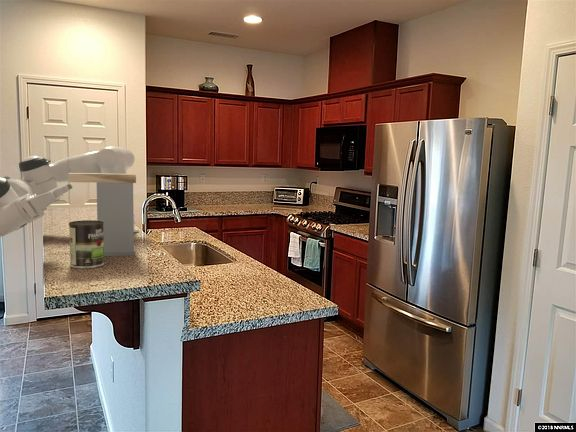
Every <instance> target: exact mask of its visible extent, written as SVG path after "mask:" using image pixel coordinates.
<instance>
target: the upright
mask: <svg viewBox="0 0 576 432" xmlns="http://www.w3.org/2000/svg"><path fill="white" fill-rule="evenodd" d="M133 214H134V183H98V182H96V218H97V219H96V221H102V222H104V225H103V235H104V257H125V256H124V255H127V256H136V246H135V241H134V240H135V239H134V237H135V232H134V219H135V215H134V216H133Z"/></svg>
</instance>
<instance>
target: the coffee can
mask: <svg viewBox="0 0 576 432" xmlns="http://www.w3.org/2000/svg"><path fill="white" fill-rule="evenodd" d="M103 225H104V222H102V221H97V220H91V219H90V220H89V219H88V220H87V219H86V220H85V219H84V220H74V221H69V222H68V227H69V249H70V250H69V257H70V258H69V259H70V261H69V262H70V263H69V264H70V267H71V268H74V269H82V270H83V269H94V268H99V267H102V266H104V265H105V256H104V235H103Z"/></svg>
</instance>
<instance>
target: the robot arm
mask: <svg viewBox="0 0 576 432" xmlns="http://www.w3.org/2000/svg"><path fill="white" fill-rule="evenodd" d="M51 162H52V161H51V160H50V159H47V158H45V157H44V156H40V155H30V156H26V157H24V158H23V159H22V160H20V162H19V163H18V169H19V171H20V172H21V175H22V177H23V178H14V179H13V178H12V177H10V176H7V175H5V176H0V238H1V237H4V236H6V235H8V234H11V233H14V232H15V231H17V230H19V229H22V228H23V227H25V226H26V225H28V224H30V223H32V222H34V221H37V220H38V219H39V218H42V217H43V216H45V211H47V209H48V207H49V206H51V205H53V204H55V203H57V202H58V201H59V200H60V199H61V198H62V197H63V196H64V194H65V193H67V192H69V191H70V190H72V189H73V188H74V187H73V185H72V184H71V183H70V182H69V179H68V173H101V174H127V171H126V170H129V169H130V168H131V167H132V166H134V164H135V156H134V154H133V152H132V151H131V150H130V149H128V148H126V147H125V146H113V145H111V146H110V145H109V146H105V147H102V148H101V149H100V150H96V151H91V152H86V153H82V154H81V153H80V154H76V155H72V156H69V157H65V158H62V159H60V160H57V161H54V162H52V163H51ZM57 183H58V184H64V183H68V184H66V185H64V186H61V187H59V186H58V184H57ZM133 216H134V217H135V213H133ZM134 233H140V229H139V228H137V227H136V221H135V218H134Z"/></svg>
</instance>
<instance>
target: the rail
mask: <svg viewBox="0 0 576 432" xmlns="http://www.w3.org/2000/svg"><path fill="white" fill-rule="evenodd" d="M68 179H69V182H68V183H97V182H98V183H133V184H136V183H137V174H136V173H126V174H101V173H68Z"/></svg>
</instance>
